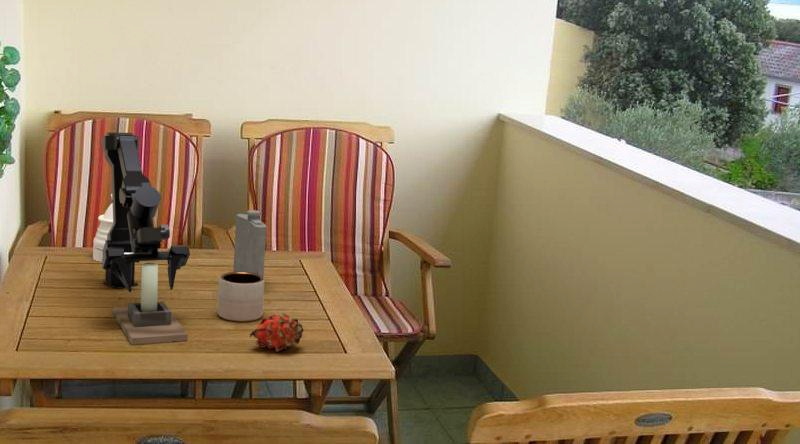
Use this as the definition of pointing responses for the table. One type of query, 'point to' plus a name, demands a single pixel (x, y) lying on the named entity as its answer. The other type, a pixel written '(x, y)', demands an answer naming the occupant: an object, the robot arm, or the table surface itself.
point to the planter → (240, 296)
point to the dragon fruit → (278, 332)
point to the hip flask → (249, 243)
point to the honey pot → (102, 233)
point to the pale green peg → (149, 287)
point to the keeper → (149, 324)
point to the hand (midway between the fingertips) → (151, 290)
